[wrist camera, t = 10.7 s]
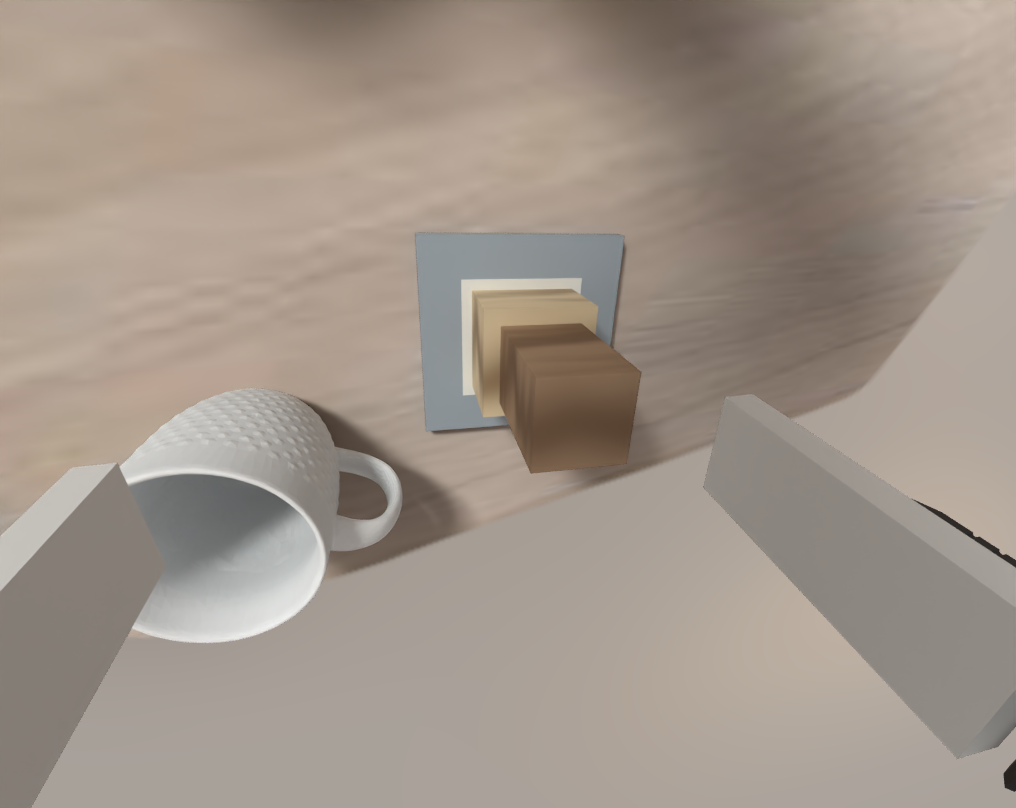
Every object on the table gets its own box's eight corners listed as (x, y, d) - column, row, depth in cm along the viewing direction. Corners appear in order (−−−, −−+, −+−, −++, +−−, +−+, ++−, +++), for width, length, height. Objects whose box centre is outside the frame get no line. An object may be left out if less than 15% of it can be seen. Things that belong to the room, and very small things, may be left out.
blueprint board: (415, 232, 30) (415, 234, 29) (618, 234, 33) (624, 236, 32) (425, 425, 36) (426, 431, 35) (596, 412, 39) (601, 418, 38)
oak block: (471, 290, 31) (483, 309, 27) (571, 288, 33) (598, 306, 28) (472, 386, 34) (483, 417, 30) (563, 381, 36) (586, 409, 31)
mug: (415, 387, 35) (424, 492, 23) (388, 507, 39) (384, 647, 27) (184, 346, 30) (52, 451, 19) (181, 486, 34) (71, 644, 23)
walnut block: (500, 326, 28) (536, 378, 20) (581, 323, 28) (641, 371, 21) (499, 402, 30) (530, 473, 23) (574, 397, 31) (626, 463, 24)
